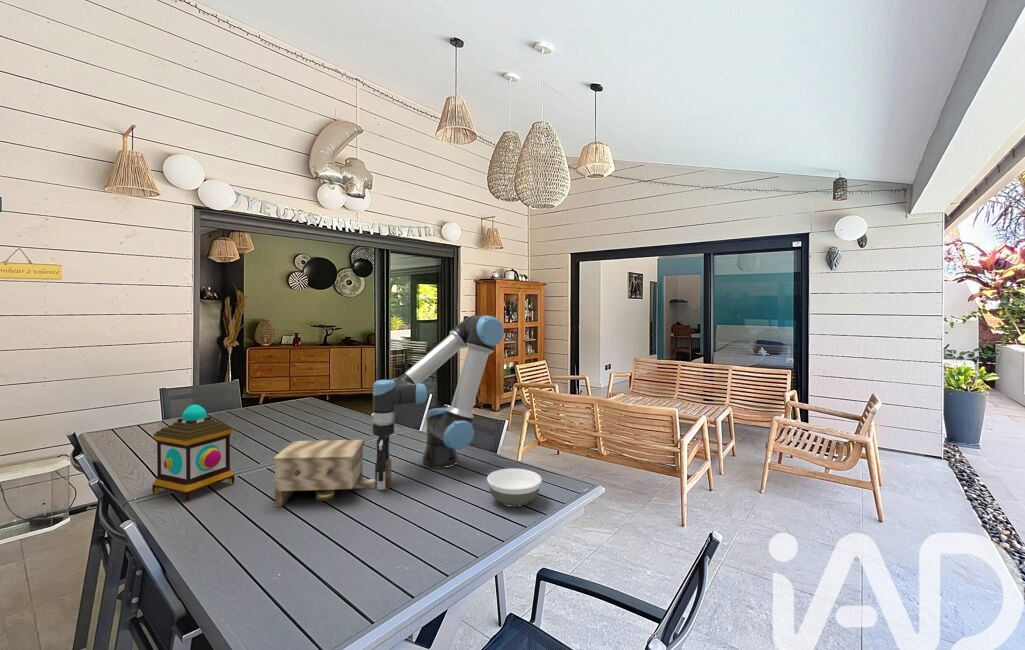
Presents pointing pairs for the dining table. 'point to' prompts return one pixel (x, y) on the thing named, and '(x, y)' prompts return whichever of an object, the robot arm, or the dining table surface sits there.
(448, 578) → the dining table surface
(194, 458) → the decorative lantern
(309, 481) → the cabinet
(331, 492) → the puck
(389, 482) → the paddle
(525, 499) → the bowl
